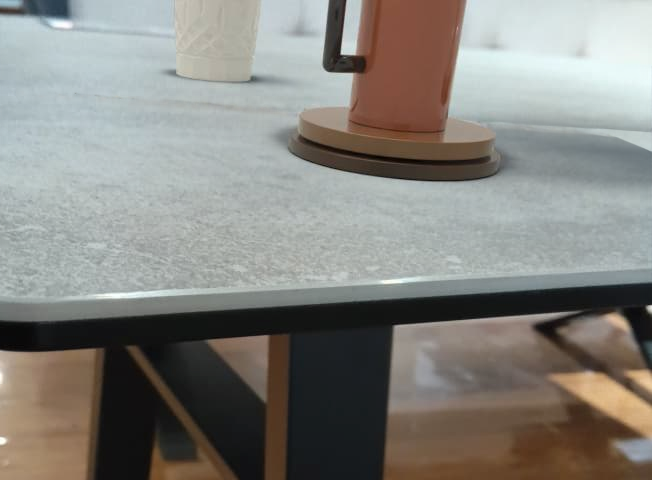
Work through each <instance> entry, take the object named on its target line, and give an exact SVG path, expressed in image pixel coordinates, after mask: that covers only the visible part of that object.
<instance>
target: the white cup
mask: <svg viewBox="0 0 652 480" xmlns="http://www.w3.org/2000/svg"><path fill="white" fill-rule="evenodd" d="M173 7H174V9H173V10H174V11H173V14H174V16H173V18H174V44H175V48H176V51H177V52H176V54H175V57H176V58H175V72H176V73H175V74H176V75H178V76H180V77H182V78H187V79H193V80H201V81H208V82H222V83H223V82H224V83H230V82H231V83H241V82H249V81H251V80H252V70H253V62H254V59H253V58H254V57H253V56H254V55H255V53H256V48H257V47H256V46H257V45H256V44H257V40H258V39H257V38H258V33H259V32H258V29H259V24H260V17H261V8H262V0H173Z"/></svg>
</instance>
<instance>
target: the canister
mask: <svg viewBox="0 0 652 480" xmlns="http://www.w3.org/2000/svg"><path fill="white" fill-rule="evenodd" d="M347 1H348V0H328V2H327V12H326V13H327V14H326V22H325V23H326V24H325V32H324V40H323V41H324V42H323V52H322V63H321V65H322V68H323V70H324V71H325V72H327V73H331V74H352V79H351V86H350V87H351V88H350V97H349V106H327V107H314V108H309V109H306V110H303V111H301V112H300V113H299V114H298V115H299V116H298V124H297V128H298V133H299V134H300V135H301V136H303V137H304V138H306V139H308V140H311V141H313V142H316V143H319V144H322V145H326V146H330V147H333V148H338V149H342V150H347V151H352V152H358V153H364V154H370V155H377V156H385V157H394V158H404V159H417V160H445V161H451V160H470V159H478V158H482V157H486V156H489V155H490V154H492V152H493V149H494V150H495V144H496V138H497V134H496V132H495V131H493V130H492V129H490V128H488V127H486V126H484V125H481V124H477V123H474V122H470V121H467V120H463V119H458V118H454V117H449V113H450V108H451V107H450V106H451V100H452V96H453V95H452V94H453V90H454V89H453V88H454V82H455V75H456V71H457V70H456V69H457V65H458V58H459V54H460V53H459V51H460V46H461V40H462V34H463V27H464V21H465V15H466V10H467V9H466V8H467V3H468V0H361V2H360V12H359V20H358V28H357V38H356V44H355V46H356V47H355V53H354V54H342V46H343V38H344V29H345V20H346V12H347V11H346V10H347Z"/></svg>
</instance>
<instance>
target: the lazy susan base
mask: <svg viewBox="0 0 652 480" xmlns="http://www.w3.org/2000/svg"><path fill="white" fill-rule="evenodd" d="M287 143H288V144H287V146H288V150H289V151H290V152H291V153H292V154H293V155H296V156H297V157H299V158H302V159H304V160H305V161H309V162H312V163H315V164H318V165H320V166H321V165H322V166H324V167H328V168H333V169H338V170H341V171H346V172H353V173H357V174H363V175H369V176H377V177H378V176H379V177H385V178H395V179H405V180H419V181H465V180H474V179H481V178H486V177H490V176H493V175H494V174H496V173H497V172H498V170H499V168H500V162H501V154H500V153H499V152H498V151H497V150H496V149H495V148H494V149H493V152H492V154H490V155H489V156H486V157H482V158H478V159H470V160H451V161H445V160H417V159H404V158H394V157H385V156H377V155H370V154H364V153H358V152H352V151H347V150H342V149H338V148H333V147H330V146H326V145H322V144H319V143H316V142H313V141H311V140H308V139H306V138H304V137H303V136H301V135H300V134H299V133H298V127H297V128H295V129H293V130H292V131H290V132H289V134H288V142H287Z"/></svg>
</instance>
